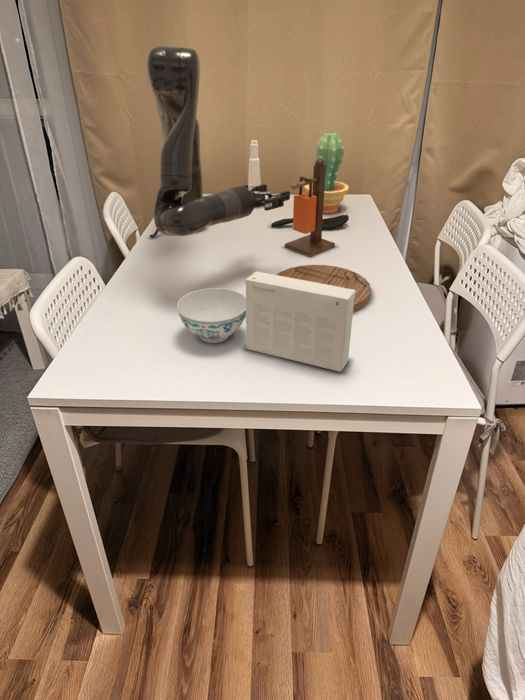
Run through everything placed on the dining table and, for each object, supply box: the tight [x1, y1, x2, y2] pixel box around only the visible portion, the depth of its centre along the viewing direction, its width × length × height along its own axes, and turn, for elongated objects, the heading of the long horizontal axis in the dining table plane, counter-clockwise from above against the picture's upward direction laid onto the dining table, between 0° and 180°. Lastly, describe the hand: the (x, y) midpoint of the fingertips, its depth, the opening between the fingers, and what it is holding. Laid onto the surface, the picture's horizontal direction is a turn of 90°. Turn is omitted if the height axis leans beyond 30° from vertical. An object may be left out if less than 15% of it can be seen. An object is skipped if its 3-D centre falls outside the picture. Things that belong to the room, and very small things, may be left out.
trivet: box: [275, 264, 372, 313], centre depth 135 cm, size 25×25×2 cm
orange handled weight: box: [292, 176, 317, 235], centre depth 151 cm, size 4×5×15 cm
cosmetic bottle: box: [247, 139, 262, 187], centre depth 187 cm, size 6×6×22 cm
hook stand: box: [284, 159, 336, 258], centre depth 152 cm, size 14×10×25 cm
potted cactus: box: [304, 132, 350, 214], centre depth 182 cm, size 15×15×25 cm
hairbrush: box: [270, 212, 350, 231], centre depth 174 cm, size 8×4×25 cm
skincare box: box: [245, 271, 355, 373], centre depth 107 cm, size 21×6×16 cm, turn 65°
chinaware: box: [176, 287, 246, 344], centre depth 116 cm, size 15×15×8 cm
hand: (277, 191), depth 141 cm, fingers open, 8 cm apart
